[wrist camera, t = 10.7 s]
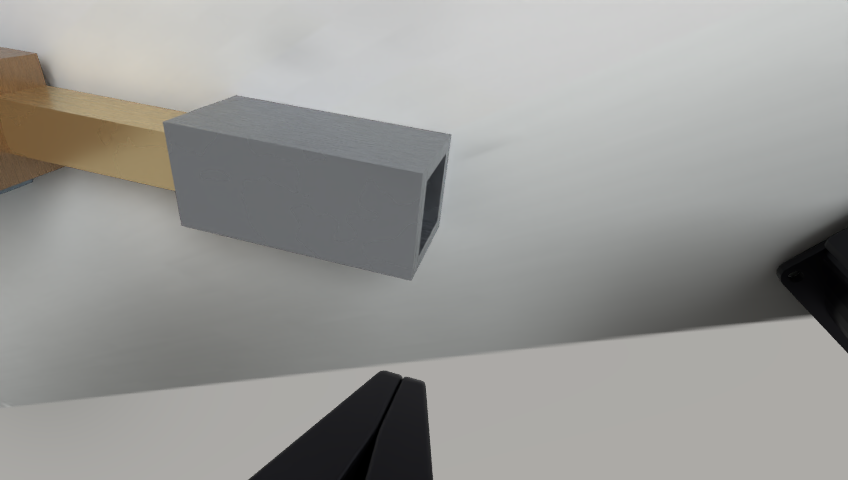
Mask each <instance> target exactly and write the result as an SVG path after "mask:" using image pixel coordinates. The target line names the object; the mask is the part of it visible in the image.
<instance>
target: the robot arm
mask: <svg viewBox="0 0 848 480" xmlns="http://www.w3.org/2000/svg"><path fill="white" fill-rule="evenodd" d="M795 271H799V273H798V274H797V275H796V276H793V277H788V276H789V274H790V273H792V272H795ZM777 276H778V278H779V279H780V281H781V282H782V284H783V285H784V286H785V287H786V288H787V289H788V290H789V291H790V292H791V293H792V294H793V295H794V296H795V297H796V298H797V300H798V301H799V302H800V303H801V304H802V305H803V306H804V307H805V308H806V309H807V310H808V311H809V312H810V313H811V314H812V316H813V317H814V318H815V319H816V320H817V321H818V322H819V323H820V324H821V325H822V326H823V327H824V328H825V329H826V330H827V331H828V333H829V334H830V335H831V336H832V337H833V338H834V339H835V340H836V341H837V342H838V343H839V344H840V345H841V346H842V347H843V348H844V350H845V351H846V352H847V353H848V228H846V229H844V230H842V231H841V232H839V233H837V234H835V235H833V236H831V237H829V238H828V239H827V240H826V241H824V242H822V243H820V244H818V245H816V246H814V247H812V248H811V249H809V250H807V251H805V252H803V253H801V254H799V255H798V256H796V257H794V258H792V259H790V260H788V261H786V262H785V263H783V264H782V265H780V266H779V268H778V269H777ZM249 480H433V475H432V462H431V449H430V436H429V423H428V410H427V398H426V386H425V383H424V382H423V381H421V380H417V379H413V378H410V377H404V378H402V376H401V375H399V374H395V373H392V372H388V371H380V372H379V373H377V374H376V375H375V376H373V377H372V378H371V379H370V380H369V381H367V382H366V383H365V384H364V385H363V386H361V387H360V388H359V389H358V390H357V391H355V392H354V393H353V394H352V395H351V396H349V397H348V398H347V399H346V400H344V401H343V402H342V403H341V404H340V405H338V406H337V407H336V408H335V409H334V410H332V411H331V412H330V413H329V414H327V415H326V416H325V417H324V418H323V419H321V420H320V421H319V422H318V423H316V424H315V425H314V426H313V427H312V428H310V429H309V430H308V431H307V432H306V433H304V434H303V435H302V436H301V437H300V438H298V439H297V440H296V441H295V442H293V443H292V444H291V445H290V446H289V447H287V448H286V449H285V450H284V451H283V452H281V453H280V454H279V455H278V456H277V457H275V458H274V459H273V460H272V461H270V462H269V463H268V464H267V465H266V466H264V467H263V468H262V469H261V470H259V471H258V472H257V473H256V474H255V475H254V476H252V477H251V478H250V479H249Z"/></svg>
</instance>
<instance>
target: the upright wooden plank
mask: <svg viewBox="0 0 848 480" xmlns="http://www.w3.org/2000/svg"><path fill="white" fill-rule="evenodd" d="M186 113H187V112H181V111H176V110H171V109H166V108H161V107H155V106H150V105H145V104H140V103H135V102H130V101H124V100H119V99H114V98H109V97H104V96H98V95H93V94H88V93H83V92H78V91H73V90H67V89H62V88H57V87H52V86H47V85H46V82H45V79H44V76H43V72H42V69H41V66H40V62H39V59H38V56H37V53H31V52H25V51H20V50H14V49H9V48H3V47H0V191H1V190H3V189H6V188H9V187H11V186H14V185H17V184H19V183H22V182H25V181H27V180H30V179H33V178H35V177H38V176H41V175H43V174H46V173H49V172H51V171H54V170H57V169H59V168H62V167H65V166H67V167H71V168H76V169H80V170H85V171H89V172H93V173H98V174H102V175H107V176H111V177H115V178H120V179H124V180H129V181H133V182H138V183H142V184H146V185H151V186H155V187H160V188H164V189H168V190H173V191H175V187H174V181H173V176H172V171H171V165H170V160H169V154H168V149H167V143H166V138H165V132H164V127H163V121H166V120H169V119H172V118H175V117H177V116H180V115H183V114H186Z"/></svg>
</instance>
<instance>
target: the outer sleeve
mask: <svg viewBox="0 0 848 480" xmlns="http://www.w3.org/2000/svg"><path fill="white" fill-rule="evenodd" d="M163 127H164V132H165V138H166V143H167V149H168V154H169V160H170V165H171V171H172V176H173V181H174V187H175V192H176V198H177V203H178V209H179V214H180V220H181V225H182V226H185V227H190V228H194V229H198V230H202V231H206V232H210V233H215V234H219V235H223V236H227V237H231V238H235V239H240V240H244V241H248V242H252V243H256V244H260V245H265V246H269V247H273V248H277V249H281V250H285V251H290V252H294V253H298V254H302V255H306V256H310V257H314V258H319V259H323V260H327V261H331V262H335V263H339V264H344V265H348V266H352V267H356V268H360V269H364V270H369V271H373V272H377V273H381V274H385V275H389V276H394V277H398V278H402V279H406V280H410V281H411V280H412V278H413V276H414V274H415V272H416V270H417V268H418V267H419V265H420V263H421V261H422V259H423V257H424V255H425V253H426V251H427V249H428V247H429V245H430V243H431V241H432V239H433V237H434V235H435V233H436V231H437V229H438V227H439V221H440V214H441V207H442V199H443V192H444V184H445V177H446V170H447V162H448V155H449V148H450V140H451V135H450V134H445V133H439V132H434V131H428V130H423V129H417V128H412V127H406V126H401V125H395V124H390V123H384V122H379V121H373V120H368V119H362V118H357V117H351V116H346V115H340V114H335V113H330V112H324V111H319V110H313V109H308V108H302V107H297V106H291V105H286V104H280V103H275V102H269V101H264V100H258V99H253V98H247V97H242V96H233V97H231V98H228V99H225V100H222V101H219V102H217V103H214V104H211V105H208V106H205V107H203V108H200V109H197V110H194V111H191V112H189V113H186V114H183V115H180V116H177V117H175V118H172V119H169V120H166V121H163Z"/></svg>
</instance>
